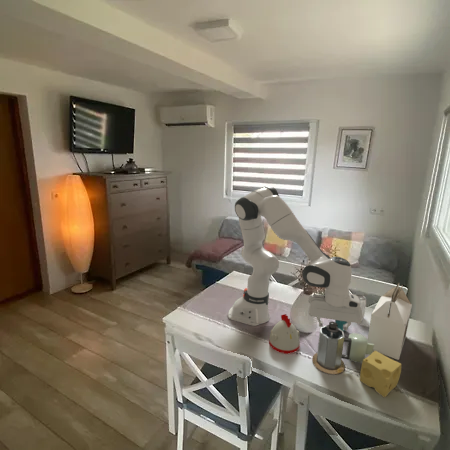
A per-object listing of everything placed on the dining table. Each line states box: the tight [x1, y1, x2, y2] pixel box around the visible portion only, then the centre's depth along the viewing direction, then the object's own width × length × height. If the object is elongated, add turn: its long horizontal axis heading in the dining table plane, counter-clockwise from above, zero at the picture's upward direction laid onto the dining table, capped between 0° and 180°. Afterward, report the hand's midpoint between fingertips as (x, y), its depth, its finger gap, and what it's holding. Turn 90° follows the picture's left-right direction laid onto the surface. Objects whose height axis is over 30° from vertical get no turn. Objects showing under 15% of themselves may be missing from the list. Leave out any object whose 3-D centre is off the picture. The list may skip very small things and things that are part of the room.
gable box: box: [367, 282, 413, 361], centre depth 135 cm, size 22×13×28 cm, turn 142°
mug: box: [345, 332, 374, 363], centre depth 127 cm, size 10×8×9 cm
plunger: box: [326, 321, 339, 338], centre depth 120 cm, size 7×7×13 cm
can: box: [355, 294, 367, 321], centre depth 157 cm, size 6×6×12 cm
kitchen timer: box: [268, 313, 301, 355], centre depth 134 cm, size 14×14×15 cm
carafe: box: [311, 324, 352, 376], centre depth 121 cm, size 14×13×15 cm
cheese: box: [359, 350, 402, 398], centre depth 112 cm, size 10×11×10 cm
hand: (332, 327), depth 119 cm, fingers open, 8 cm apart
